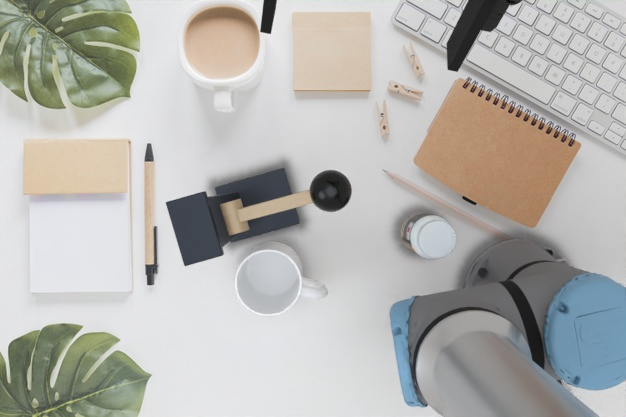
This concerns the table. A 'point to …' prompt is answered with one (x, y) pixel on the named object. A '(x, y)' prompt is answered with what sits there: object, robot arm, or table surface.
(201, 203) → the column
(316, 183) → the lever
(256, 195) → the footplate
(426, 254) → the pill bottle
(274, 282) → the mug
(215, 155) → the table surface
